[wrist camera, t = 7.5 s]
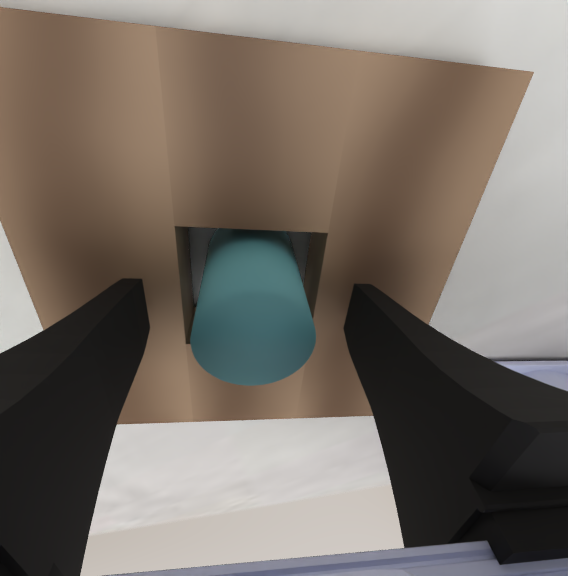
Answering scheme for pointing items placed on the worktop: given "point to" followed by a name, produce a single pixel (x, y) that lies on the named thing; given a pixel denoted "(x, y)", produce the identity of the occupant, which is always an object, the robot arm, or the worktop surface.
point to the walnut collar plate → (236, 183)
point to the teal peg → (252, 309)
